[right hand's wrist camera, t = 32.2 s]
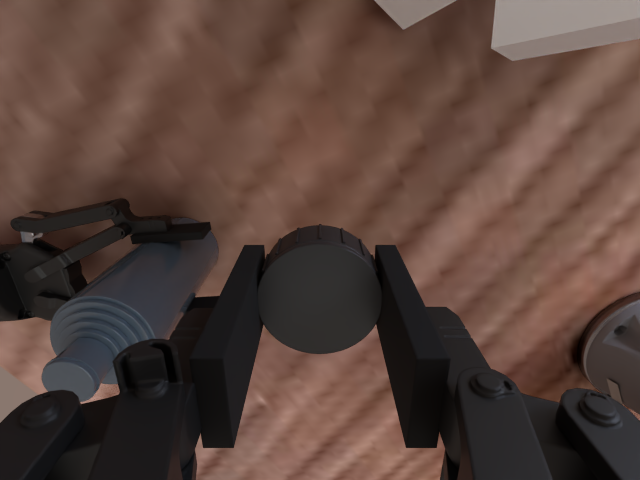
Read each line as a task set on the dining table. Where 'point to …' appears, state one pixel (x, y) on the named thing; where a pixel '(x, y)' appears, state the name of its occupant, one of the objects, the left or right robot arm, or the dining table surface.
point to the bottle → (125, 310)
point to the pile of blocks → (540, 23)
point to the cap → (319, 290)
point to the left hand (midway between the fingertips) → (213, 269)
